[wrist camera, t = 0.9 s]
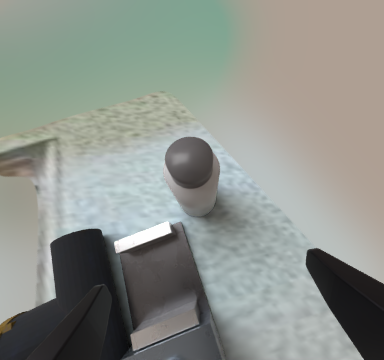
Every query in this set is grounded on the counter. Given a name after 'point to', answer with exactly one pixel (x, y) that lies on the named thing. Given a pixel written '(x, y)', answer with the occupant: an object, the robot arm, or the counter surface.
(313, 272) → the robot arm
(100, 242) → the pipe connector
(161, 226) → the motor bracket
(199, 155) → the grey domed cylinder
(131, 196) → the counter surface
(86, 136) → the counter surface
